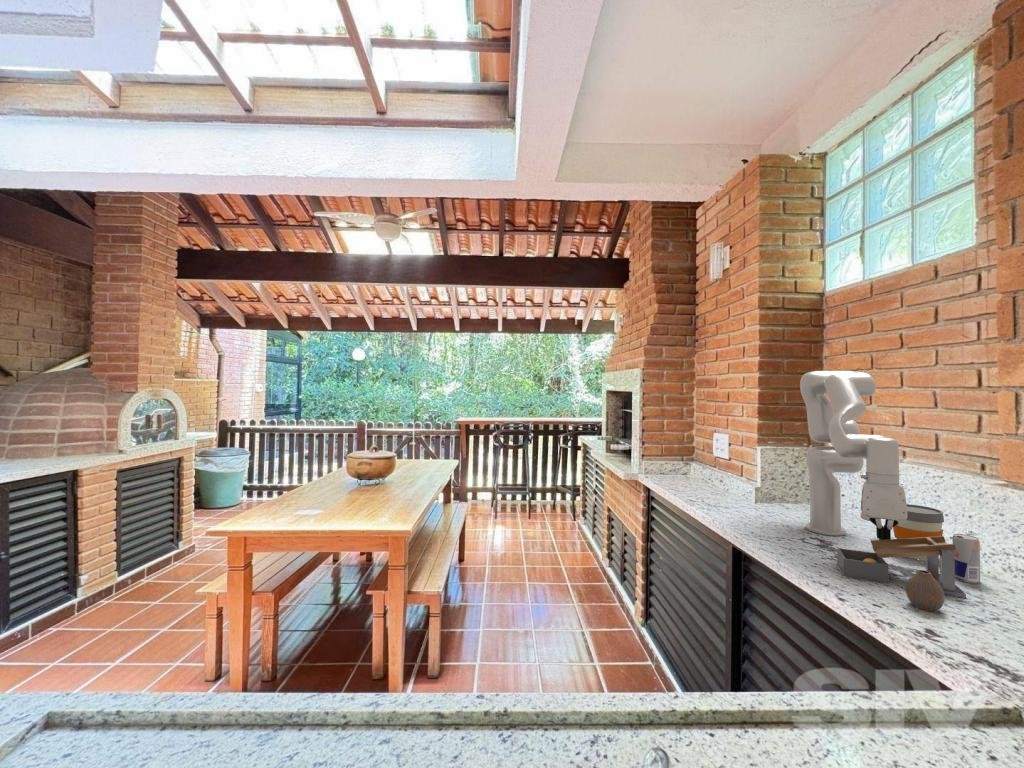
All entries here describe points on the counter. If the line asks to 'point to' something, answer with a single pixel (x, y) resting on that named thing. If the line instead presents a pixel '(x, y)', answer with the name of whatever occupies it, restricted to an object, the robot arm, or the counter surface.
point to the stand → (944, 572)
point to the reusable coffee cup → (920, 524)
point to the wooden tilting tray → (911, 546)
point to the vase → (925, 591)
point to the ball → (870, 560)
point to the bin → (862, 565)
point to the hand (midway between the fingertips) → (883, 541)
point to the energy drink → (967, 558)
